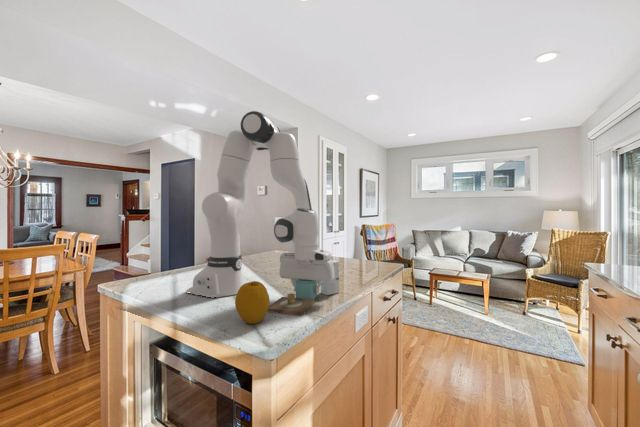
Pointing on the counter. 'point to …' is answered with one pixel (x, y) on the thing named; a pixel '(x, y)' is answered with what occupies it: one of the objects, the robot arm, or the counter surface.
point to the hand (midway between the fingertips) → (306, 291)
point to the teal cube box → (306, 289)
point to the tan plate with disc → (291, 305)
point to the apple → (252, 302)
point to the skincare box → (331, 286)
